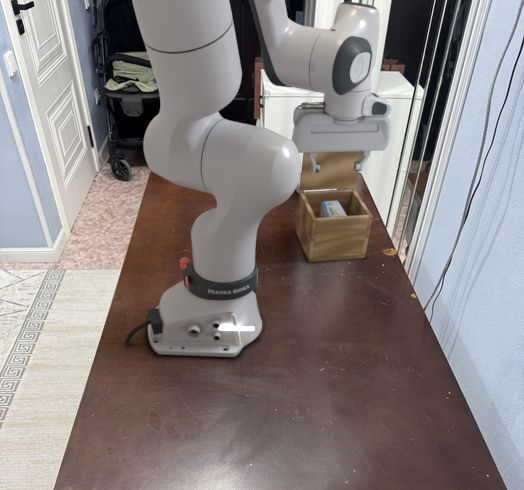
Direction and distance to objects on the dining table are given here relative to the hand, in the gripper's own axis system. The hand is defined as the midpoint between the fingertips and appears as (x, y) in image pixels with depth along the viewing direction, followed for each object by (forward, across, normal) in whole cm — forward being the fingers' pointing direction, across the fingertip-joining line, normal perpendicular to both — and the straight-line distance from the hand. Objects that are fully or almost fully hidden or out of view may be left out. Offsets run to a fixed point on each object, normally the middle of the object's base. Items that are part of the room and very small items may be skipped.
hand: (336, 171), depth 106 cm
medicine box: (+19, +2, +3) cm, 19 cm away
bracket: (+19, +4, +27) cm, 33 cm away
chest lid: (+1, +2, +8) cm, 8 cm away
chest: (+20, +2, +3) cm, 20 cm away
